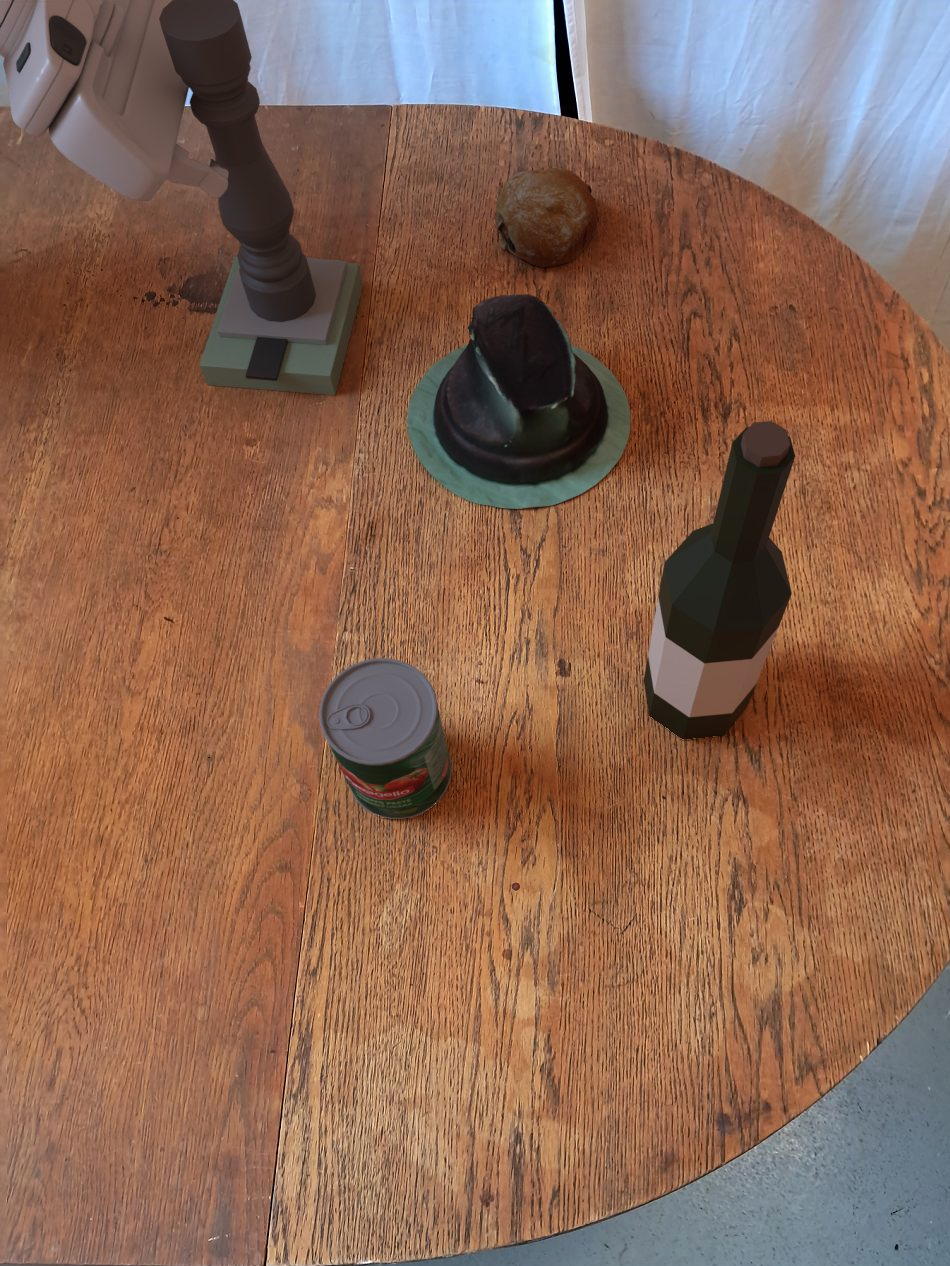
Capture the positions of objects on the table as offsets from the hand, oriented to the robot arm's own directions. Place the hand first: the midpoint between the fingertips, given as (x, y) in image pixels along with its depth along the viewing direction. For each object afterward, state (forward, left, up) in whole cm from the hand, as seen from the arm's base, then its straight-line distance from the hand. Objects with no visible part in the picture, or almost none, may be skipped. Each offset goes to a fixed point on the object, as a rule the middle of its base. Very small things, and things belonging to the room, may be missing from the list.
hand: (233, 146), depth 82 cm
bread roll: (+23, +15, -18) cm, 33 cm away
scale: (0, -1, -18) cm, 18 cm away
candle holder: (0, 0, -15) cm, 15 cm away
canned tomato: (+18, -44, -18) cm, 51 cm away
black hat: (+23, -9, -18) cm, 31 cm away
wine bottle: (+40, -35, -18) cm, 57 cm away
